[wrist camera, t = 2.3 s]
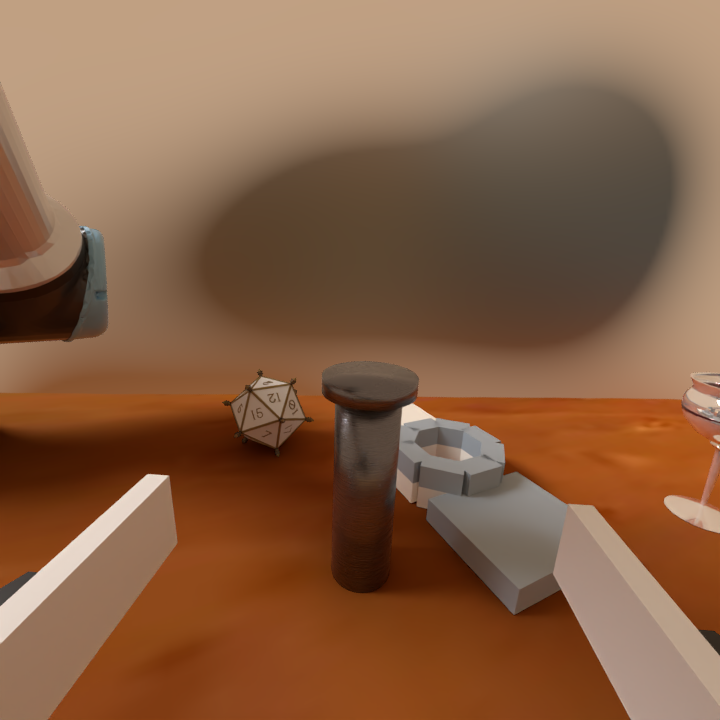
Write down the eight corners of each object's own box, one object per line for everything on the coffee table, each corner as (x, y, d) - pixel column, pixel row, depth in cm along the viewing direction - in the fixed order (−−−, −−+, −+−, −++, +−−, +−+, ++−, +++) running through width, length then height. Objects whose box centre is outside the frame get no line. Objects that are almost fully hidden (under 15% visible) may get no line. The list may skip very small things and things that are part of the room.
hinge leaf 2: (374, 463, 38) (376, 428, 36) (450, 445, 42) (454, 413, 41) (514, 615, 22) (525, 562, 21) (611, 561, 26) (625, 515, 25)
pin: (308, 550, 26) (309, 365, 22) (376, 528, 29) (387, 358, 25) (338, 618, 21) (345, 398, 18) (417, 584, 24) (438, 385, 20)
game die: (258, 467, 43) (242, 387, 45) (327, 445, 42) (306, 365, 45) (218, 471, 34) (201, 372, 37) (303, 444, 33) (279, 345, 36)
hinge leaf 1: (343, 430, 44) (343, 415, 44) (411, 417, 49) (412, 403, 48) (433, 527, 29) (436, 506, 28) (521, 496, 33) (525, 477, 33)
